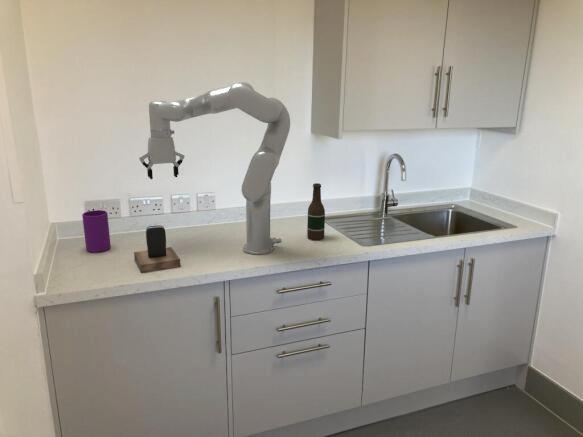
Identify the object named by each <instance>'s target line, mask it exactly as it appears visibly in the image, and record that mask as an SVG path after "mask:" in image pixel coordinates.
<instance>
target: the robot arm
mask: <svg viewBox="0 0 583 437" xmlns="http://www.w3.org/2000/svg"><path fill="white" fill-rule="evenodd" d="M235 109H238V110H240V111H241V112H244V113H245V114H247V115H248V116H250V117H252V118H254V119H256V120H258V121H259V122H262V123H264V124H267V127H266V130H265V132H264V134H263V138H262V140H261V143H260V146H259V148H258V149H257V151H256V152H255V153H254V154H253V156H252V158H250V159H251V160H250V162H249V163H248V164H249V165H248V167H247V170H246V173H245V175H244V178H243V181H242V184H241V193H242V194H241V195H242V196H243V198H244V199H245V200H246V203H245V209H246V210H245V211H246V212H245V215H246V216H245V222H246V223H245V224H246V226H245V227H246V231H245V232H246V243H245V244H243V246H242V251H243V252H244V253H246V254H251V255H266V254H270V253H272V252H273V251H274V250H275V246H274V245H275V244H282V241H283V240H282V238H276V237H271V199H272V179H273V176H274V174H275V172H276V169H277V167H278V166H279V164H280V160H281V157H282V154H283V151H284V148H285V146H286V142H287V139H288V136H289V133H290V130H291V129H290V128H291V117H290V113H289V111H288V109H287V107H286V106H285V103H283V102H282V101H281V100H280V99H278V98H276V97H266V96H265V95H263V94H261V93H260V92H257V91H256V90H255V89H254V88H253V86H252V84H250V83H249V82H243V81H242V82H236V83H233V84H230V85H227V86H223V87H220V88H215V89H211V90H208V91H207V92H206V93H205V92H204V93H203V94H200V95H197V96H193V97H189V98H184V99H181V100H180V99H179V100H176V101H165V100H153V101H152V100H151V101H150V102H149V103H148V115H149V116H148V117H149V130H150V132H149V133H150V137H148V140H147V152H146V153H145V154H143V155H141V156H140V157H139V161H140V163H141V165H142V166H143V167H145V168H146V170H147V172H146V173H147V177H148V178H149V179H150V180H153V178H154V177H153V176H154V175H153V169H152V168H153V166H154V165H160V164H161V165H163V164H173V176H174V178H178V175H179V167H180V165H182V163H183V161H184V159H185V154H182V153H180V152H177V151H176V147H175V141H174V138H173V136H172V135H175V130H173V129H171V122H175V123H177V122H178V123H180V122H182V121H185V120H190V119H193V118H196V117H201V116H204V115H210V114H211V115H213V114H220V113H223V112H227V111H231V110H235ZM177 156H178V157H179V159H178V160H177ZM145 160H148V163H146V161H145Z"/></svg>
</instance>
